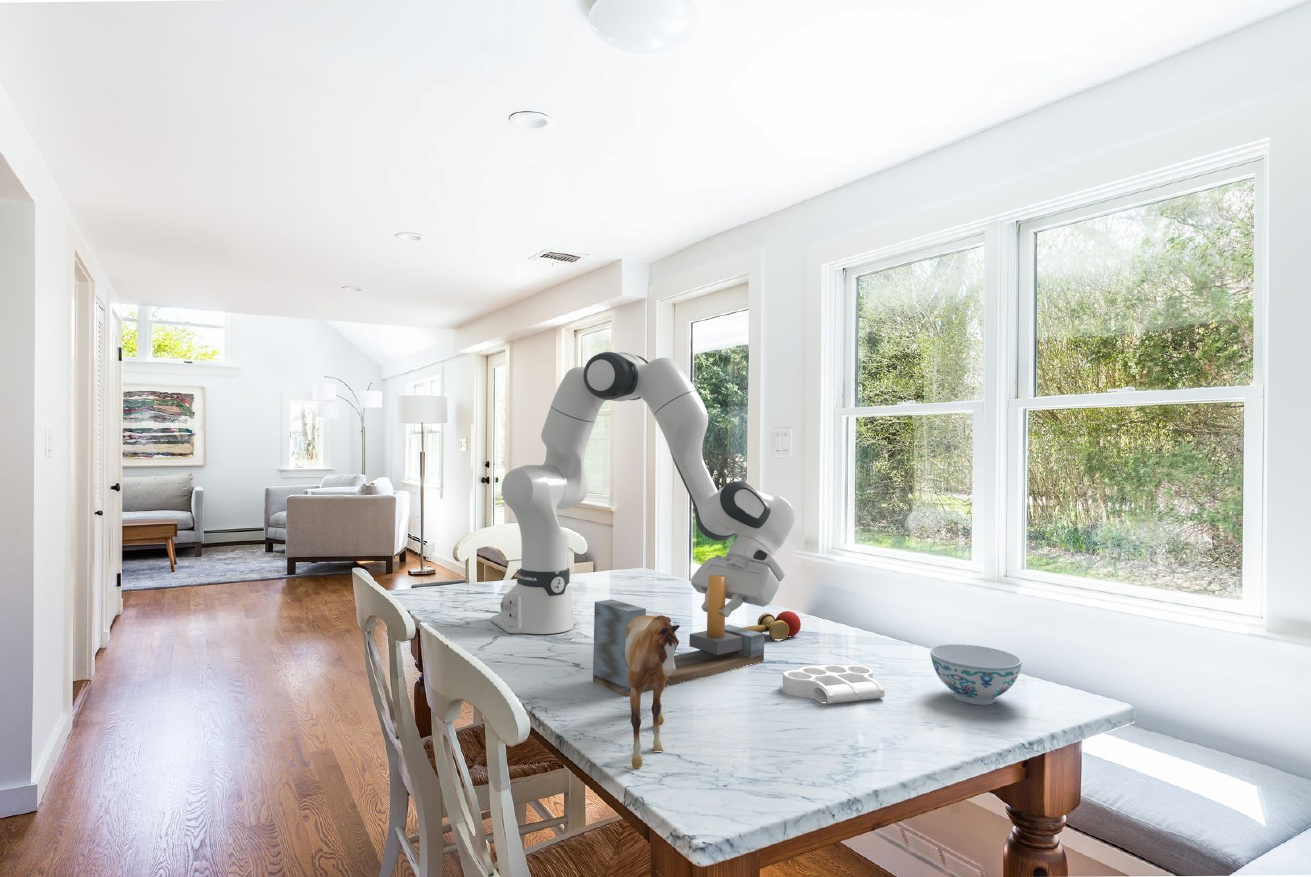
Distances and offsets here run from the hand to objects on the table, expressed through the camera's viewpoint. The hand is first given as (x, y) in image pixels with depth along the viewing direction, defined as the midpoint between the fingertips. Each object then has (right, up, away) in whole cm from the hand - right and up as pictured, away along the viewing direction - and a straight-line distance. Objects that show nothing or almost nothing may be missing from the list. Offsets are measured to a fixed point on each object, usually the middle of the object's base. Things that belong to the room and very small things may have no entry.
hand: (713, 612), depth 151 cm
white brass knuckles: (+20, -11, -15) cm, 28 cm away
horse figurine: (-10, -10, -39) cm, 41 cm away
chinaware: (+45, -11, -18) cm, 50 cm away
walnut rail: (-7, -10, -6) cm, 13 cm away
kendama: (+14, -11, +22) cm, 28 cm away
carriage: (0, -7, 0) cm, 7 cm away
